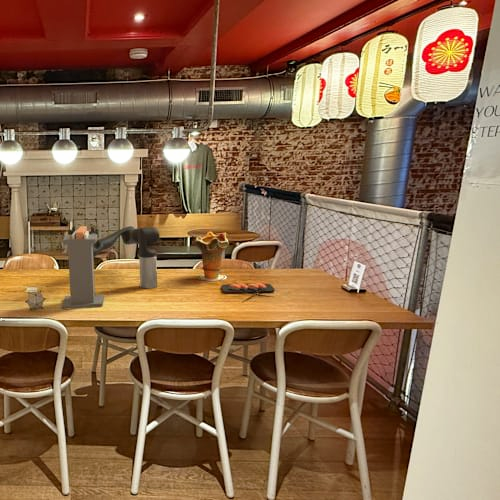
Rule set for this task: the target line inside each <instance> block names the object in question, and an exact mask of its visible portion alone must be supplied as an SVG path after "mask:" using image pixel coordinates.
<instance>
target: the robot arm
mask: <svg viewBox="0 0 500 500" xmlns="http://www.w3.org/2000/svg"><path fill="white" fill-rule="evenodd" d="M77 230H78V229H76V226H72V227H71V229H68V235H72V234H73V233H74V232H75V231H77ZM87 231H89V235H92V234H97V241H96V244H93V259H94V258H95V257H97V256H98V255H99V254H100V253H103V251H107V250H109V249H111V248H112V247H113V246H114V245H115V244H116V242H117V240H118V239H119V238H120V236H121V239H122V242H123V244H124V245H127V246H128V245H135V244H136V245H138V254H139V256H138V258H139V287H140V288H141V289H142V288H143V289H153V288H157V287H158V270H157V264H158V263H157V251H156V250H155V249H151V248H148V247H147V245H154V244H157V243H158V242H159V240H160V237H161V236H160V232H159V229H158V228H157V227H155V226H154V227H153V226H152V227H151V226H149V227H147V226H146V227H139V228H135V227H134V226H132V225H131V226H125V227H123V228H121V229H118V230H117V231H114V232H113V233H110V234H109V235H107V236H104V237H102V238H100V239H98V238H99V236H100V235H99V229H97V228H96V229H95V227H93V226H90V229H87Z"/></svg>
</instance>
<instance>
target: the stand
mask: <svg viewBox="0 0 500 500" xmlns="http://www.w3.org/2000/svg"><path fill="white" fill-rule="evenodd" d="M76 232H77V231H75V232H74V233H73V234H72V235H69V234H66V235H65V236H64V238H63V239H62V245H67V256H68V257H67V258H68V259H67V261H68V275H69V292H70V293H69V294H70V295H68V296H64V298H63V301H62V303H61V305H60V309H61V310H66V309H67V308H70V309H82V308H101V307H103V306H104V298H105V295H104V293H102V294H96V292H95V291H96V288H95V269H94V268H95V267H94V265H95V263H94V258H93V244H96V241H97V240H98V238H97V234H92V235H89V231H88V230H87V231H86V233H85V234H84V238H83V239H76ZM67 310H68V309H67Z"/></svg>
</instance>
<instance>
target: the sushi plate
mask: <svg viewBox="0 0 500 500" xmlns="http://www.w3.org/2000/svg"><path fill="white" fill-rule="evenodd" d="M220 288H221V290H222V292H224V293H243V294H249V295H250V297H248V298H246V299H245V300H242V301H241V303H244V302H247V301H249V300H250V299H251V298H252V297H254V296H260V297H266V298H267V297H269V298H274V296H271V295H266V294H258V293H265V292H274V291H275V288H274V287H273V285H272V284H271V283H262V282H261V283H260V282H257V283H230V284H227V283H226V284H221V286H220Z"/></svg>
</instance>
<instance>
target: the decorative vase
mask: <svg viewBox="0 0 500 500" xmlns="http://www.w3.org/2000/svg"><path fill="white" fill-rule="evenodd" d="M226 235H227V232H221V233H220V234H218V235H216V234H214V233H213V232H212V231H208V232H207V233H206V234H205V236H203V237H202V236H197V237H196V238H195V245H196V247H197V248H198V249H199V250H200V251H201V256H202V257H201V258H202V269H201V272H202V270H203V275H202V274H200V275H199V276H198V277H197V279H200V280H202V281H211V282H212V281H214V282H215V281H221V280H226V279H228V278H227V276H226V275H224V274H221V270H222V263H223V252H224V250H225V249H226V248H228V247H229V246H230V243H229V240H228V238H227V236H226Z"/></svg>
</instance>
